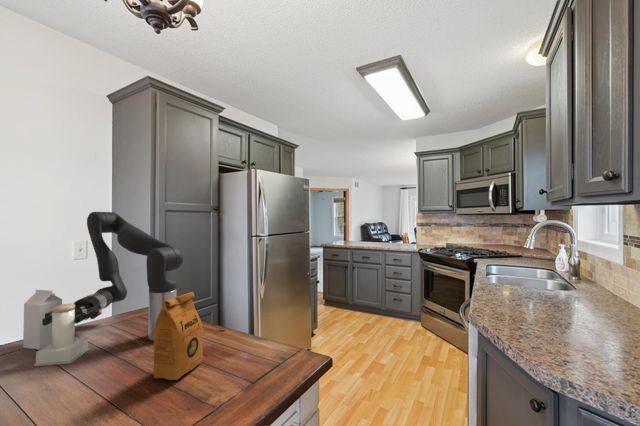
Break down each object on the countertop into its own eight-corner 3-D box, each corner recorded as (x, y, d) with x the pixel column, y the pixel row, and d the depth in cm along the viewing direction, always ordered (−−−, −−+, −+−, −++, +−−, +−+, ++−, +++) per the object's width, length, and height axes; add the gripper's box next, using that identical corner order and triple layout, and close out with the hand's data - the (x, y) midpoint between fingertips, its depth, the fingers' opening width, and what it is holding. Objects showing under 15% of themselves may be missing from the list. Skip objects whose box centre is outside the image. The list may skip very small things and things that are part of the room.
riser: (88, 349, 98) (89, 337, 99) (70, 363, 89) (71, 350, 89) (55, 351, 97) (56, 339, 97) (33, 366, 87) (34, 352, 87)
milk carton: (39, 350, 98) (40, 293, 98) (22, 348, 99) (23, 292, 99) (61, 341, 105) (62, 288, 105) (46, 339, 106) (47, 287, 106)
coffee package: (208, 363, 89) (208, 291, 89) (175, 386, 77) (176, 303, 78) (182, 358, 92) (183, 289, 93) (147, 379, 81) (148, 299, 81)
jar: (78, 340, 96) (79, 303, 96) (67, 347, 91) (68, 308, 91) (59, 341, 95) (59, 304, 95) (46, 349, 90) (47, 309, 90)
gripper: (67, 296, 106) (33, 310, 90) (111, 294, 109) (86, 308, 93) (67, 317, 106) (33, 335, 90) (111, 314, 108) (85, 331, 93)
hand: (60, 321), depth 91 cm, fingers open, 8 cm apart
